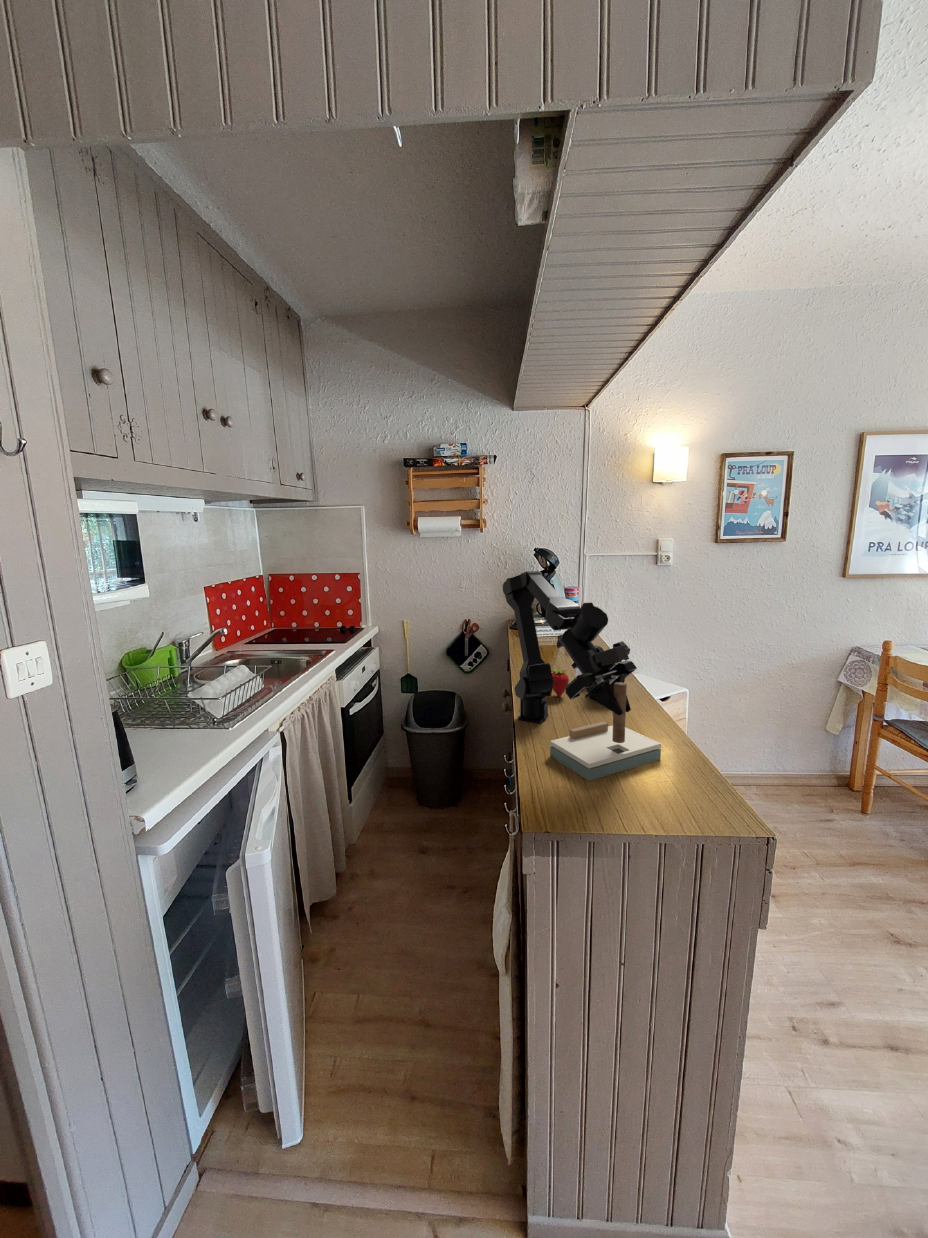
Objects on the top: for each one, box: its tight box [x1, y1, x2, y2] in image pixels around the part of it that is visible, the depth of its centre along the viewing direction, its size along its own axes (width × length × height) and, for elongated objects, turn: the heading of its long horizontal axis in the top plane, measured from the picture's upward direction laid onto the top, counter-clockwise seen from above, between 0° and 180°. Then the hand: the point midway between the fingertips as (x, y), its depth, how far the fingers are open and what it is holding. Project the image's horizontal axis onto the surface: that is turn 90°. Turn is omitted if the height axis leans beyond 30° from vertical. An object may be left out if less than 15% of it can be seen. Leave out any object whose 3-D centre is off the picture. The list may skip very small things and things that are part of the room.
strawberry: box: [551, 668, 570, 697], centre depth 152 cm, size 6×8×10 cm
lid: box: [549, 721, 662, 768], centre depth 110 cm, size 13×20×3 cm, turn 116°
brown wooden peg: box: [612, 682, 628, 743], centre depth 105 cm, size 2×2×12 cm
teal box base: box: [549, 745, 662, 782], centre depth 111 cm, size 13×20×2 cm, turn 117°
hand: (625, 712), depth 104 cm, fingers closed on brown wooden peg, 2 cm apart
